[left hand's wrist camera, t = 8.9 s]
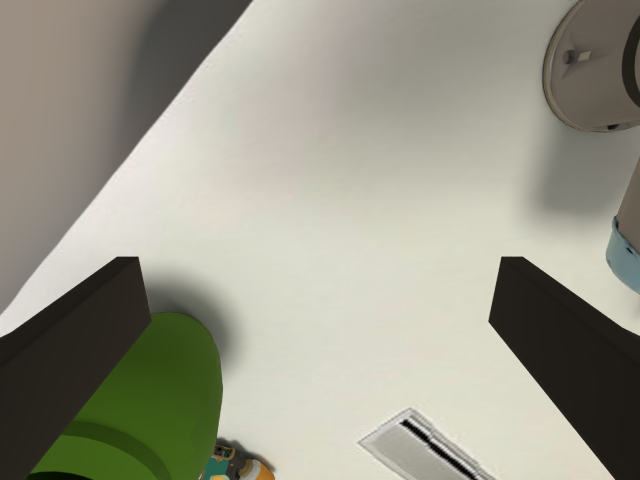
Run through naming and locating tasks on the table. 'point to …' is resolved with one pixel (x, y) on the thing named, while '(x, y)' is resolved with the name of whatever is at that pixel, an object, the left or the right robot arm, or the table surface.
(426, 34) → the table surface
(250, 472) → the spray gun
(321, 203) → the table surface
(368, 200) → the table surface
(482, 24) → the table surface
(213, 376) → the vase
